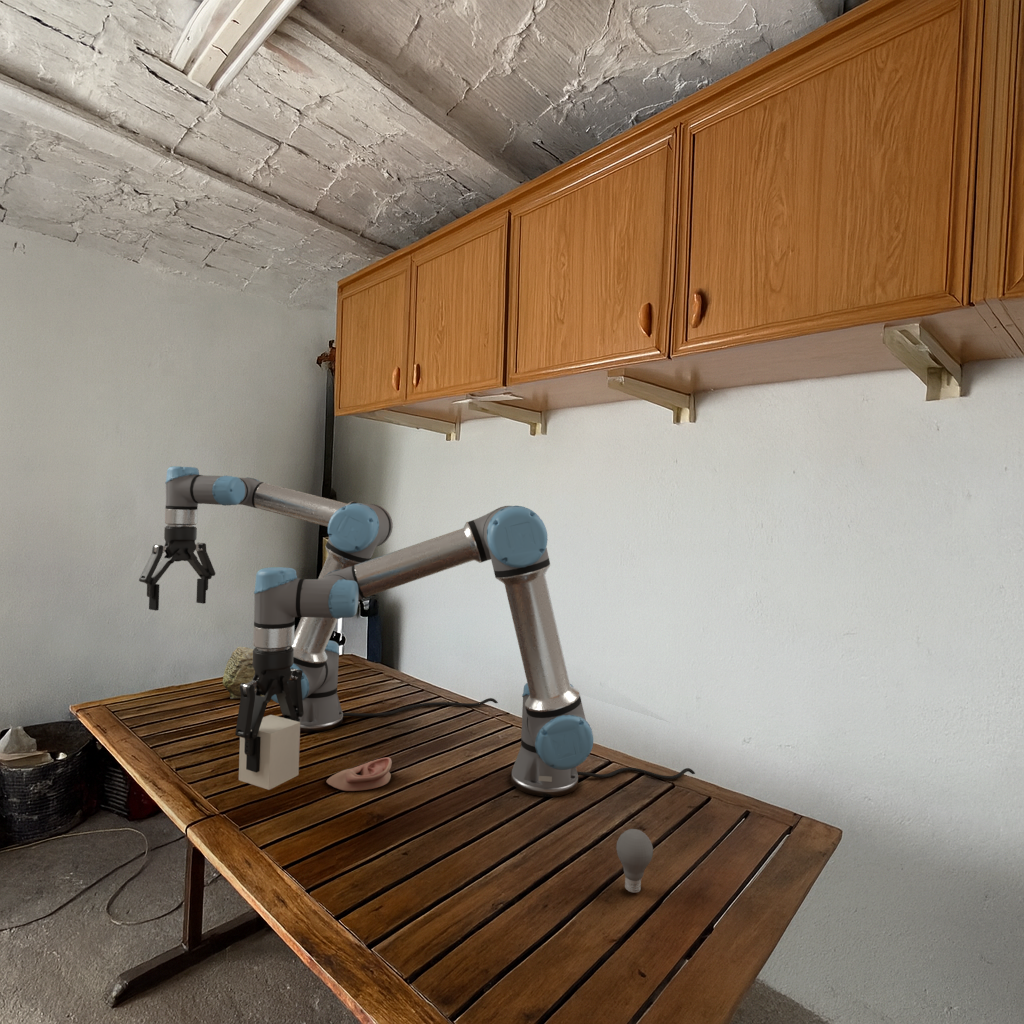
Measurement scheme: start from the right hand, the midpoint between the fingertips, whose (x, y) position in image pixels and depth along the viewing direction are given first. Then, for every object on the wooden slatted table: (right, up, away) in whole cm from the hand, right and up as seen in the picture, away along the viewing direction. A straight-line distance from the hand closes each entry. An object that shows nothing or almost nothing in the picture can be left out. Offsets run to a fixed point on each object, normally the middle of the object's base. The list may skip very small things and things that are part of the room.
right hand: (269, 762), depth 124 cm
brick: (0, -3, 0) cm, 3 cm away
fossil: (-33, -8, +74) cm, 81 cm away
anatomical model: (+13, -11, +17) cm, 25 cm away
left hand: (-40, +24, +42) cm, 63 cm away
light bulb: (+68, -14, -19) cm, 72 cm away
